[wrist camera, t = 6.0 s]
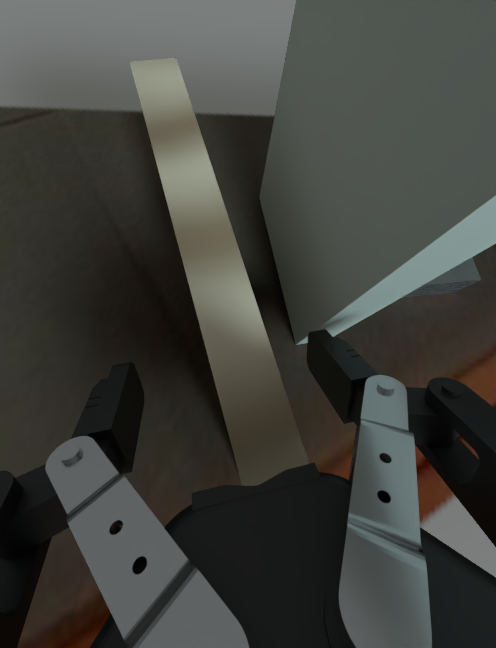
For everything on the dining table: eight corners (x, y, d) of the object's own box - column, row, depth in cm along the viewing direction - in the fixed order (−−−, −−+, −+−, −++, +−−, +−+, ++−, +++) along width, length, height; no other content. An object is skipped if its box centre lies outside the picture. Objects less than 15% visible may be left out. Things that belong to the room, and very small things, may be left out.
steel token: (452, 293, 21) (481, 279, 18) (393, 299, 20) (415, 286, 18) (431, 236, 22) (456, 218, 20) (375, 240, 21) (394, 221, 19)
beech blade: (278, 463, 16) (326, 514, 9) (240, 477, 16) (257, 542, 8) (191, 173, 21) (176, 57, 14) (160, 178, 21) (129, 61, 14)
